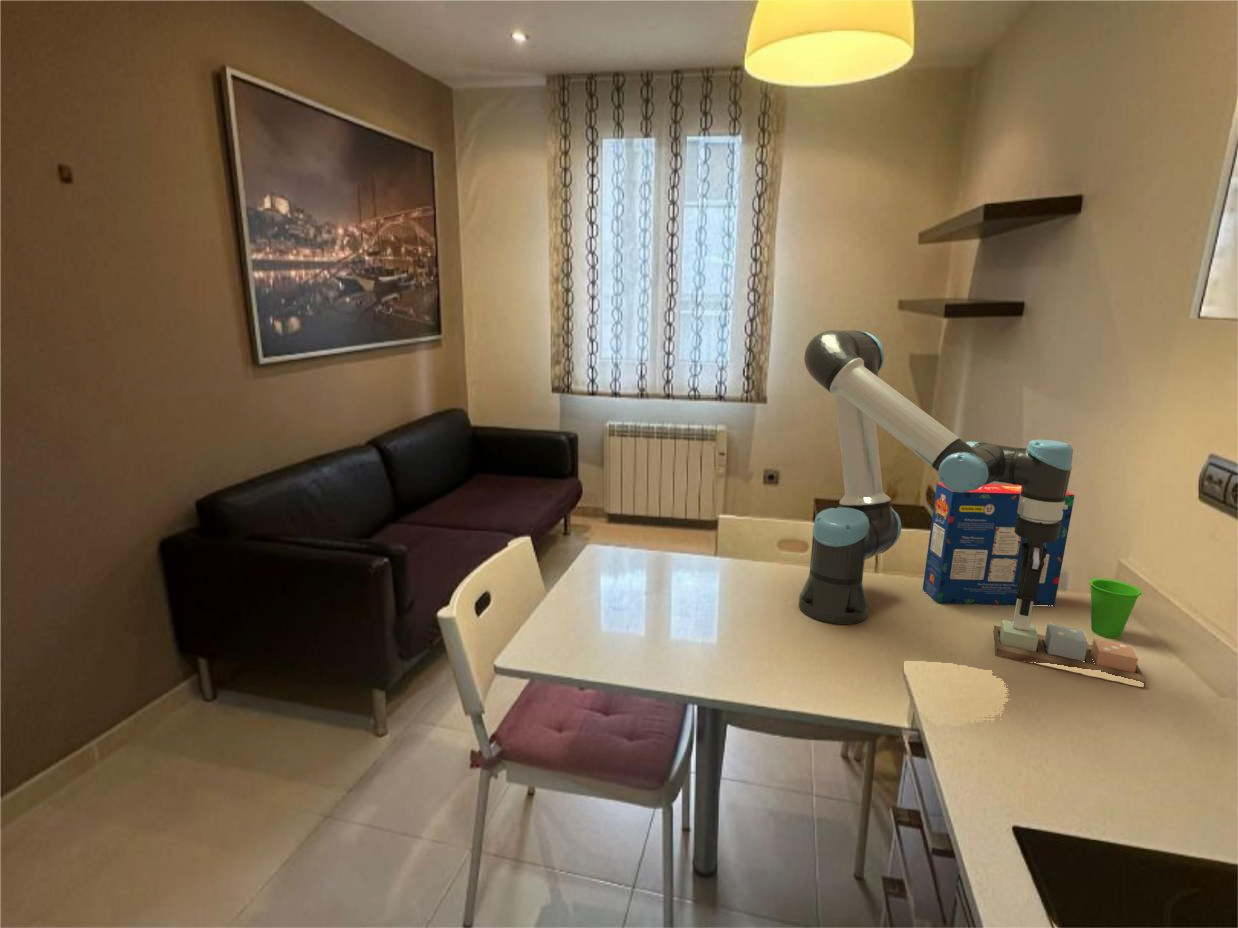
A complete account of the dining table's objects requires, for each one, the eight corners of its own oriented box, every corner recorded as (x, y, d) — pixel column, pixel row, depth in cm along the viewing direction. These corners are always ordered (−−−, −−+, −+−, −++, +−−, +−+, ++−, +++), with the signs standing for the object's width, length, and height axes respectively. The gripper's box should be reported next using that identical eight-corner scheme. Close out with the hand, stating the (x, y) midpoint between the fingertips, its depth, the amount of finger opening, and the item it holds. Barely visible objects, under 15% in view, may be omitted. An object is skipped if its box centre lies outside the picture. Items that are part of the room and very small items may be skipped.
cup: (1140, 645, 136) (1151, 597, 133) (1092, 640, 137) (1102, 592, 135) (1117, 626, 144) (1127, 580, 142) (1072, 621, 146) (1081, 576, 144)
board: (995, 655, 130) (996, 648, 130) (993, 631, 140) (994, 625, 140) (1143, 688, 119) (1145, 681, 119) (1129, 659, 129) (1130, 652, 129)
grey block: (1047, 653, 128) (1051, 634, 127) (1044, 641, 133) (1047, 622, 132) (1084, 661, 125) (1087, 641, 124) (1079, 648, 131) (1082, 629, 130)
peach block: (1095, 669, 125) (1099, 650, 124) (1090, 656, 130) (1093, 637, 129) (1133, 677, 122) (1138, 658, 121) (1126, 663, 127) (1130, 644, 126)
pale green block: (1000, 649, 132) (1003, 630, 131) (999, 637, 137) (1002, 619, 136) (1035, 656, 129) (1038, 637, 128) (1032, 643, 134) (1035, 625, 134)
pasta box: (1033, 593, 162) (1052, 486, 155) (1054, 606, 154) (1074, 494, 148) (922, 590, 162) (936, 483, 156) (937, 603, 154) (952, 491, 148)
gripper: (1066, 530, 120) (1045, 645, 125) (1057, 512, 131) (1038, 619, 136) (1019, 523, 123) (1001, 636, 128) (1014, 507, 134) (998, 611, 140)
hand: (1020, 627), depth 132 cm, fingers closed
